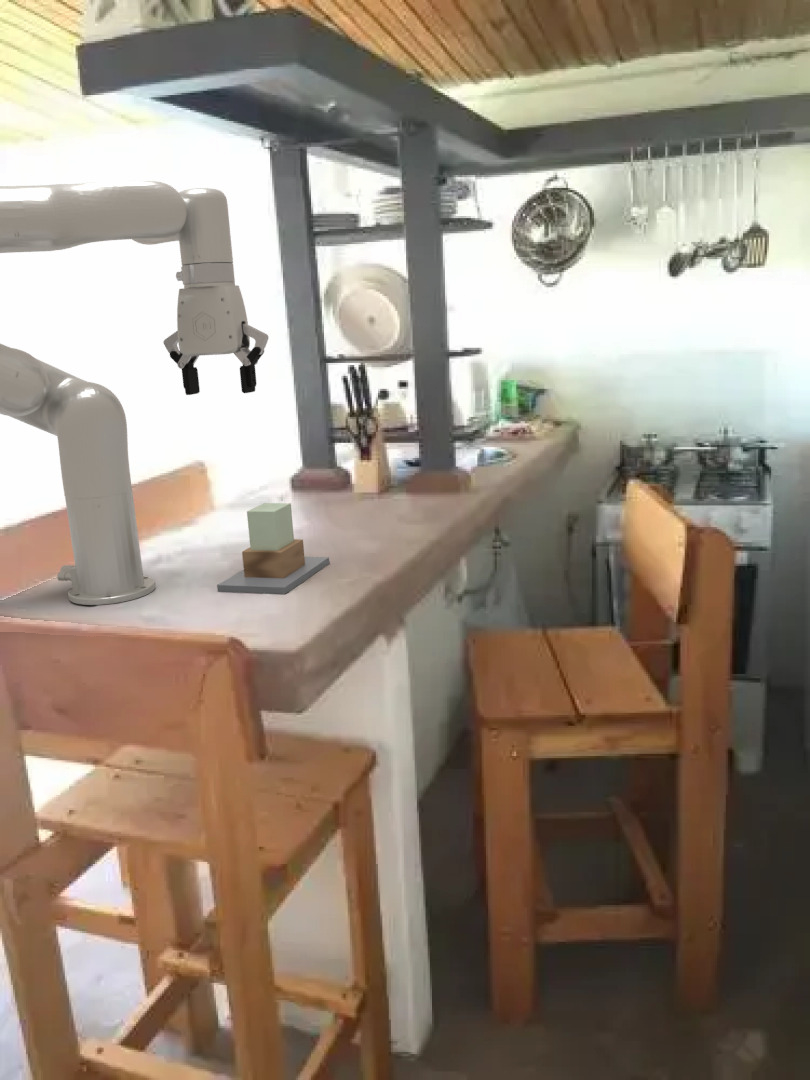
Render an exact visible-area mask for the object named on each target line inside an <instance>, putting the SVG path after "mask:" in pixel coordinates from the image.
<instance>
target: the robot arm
mask: <svg viewBox="0 0 810 1080" xmlns="http://www.w3.org/2000/svg"><path fill="white" fill-rule="evenodd" d="M228 206H229V205H228V198H227V197H226V195H225V193H224V192H223V191H221V190H219V189H215V188H208V187H207V188H205V187H204V188H201V187H200V188H190V189H184V190H182V191H180V192H178V191H177V189H176V188H174V187H173V186H171V185H169V184H167V183H165V182H162V181H155V180H154V181H153V180H152V181H151V180H138V181H137V180H135V181H134V180H131V181H129V180H128V181H101V182H99V181H98V182H85V183H70V184H68V183H64V184H62V183H61V184H60V183H59V184H57V183H56V184H48V185H47V184H46V185H42V184H39V185H19V186H18V185H15V186H14V185H12V186H10V185H9V186H4V185H3V186H0V254H8V253H9V254H11V253H31V252H32V253H33V252H54V251H60V250H61V251H63V250H67V249H71V248H74V247H78V246H82V245H85V244H90V243H91V244H92V243H97V242H107V241H119V240H132V241H134V242H136V243H138V244H142V245H147V246H148V245H152V246H153V245H158V244H164V243H170V242H177V241H178V242H179V252H180V259H181V261H180V262H181V266H180V268H181V270H180V271H177V272H176V274H175V278H176V280H177V281H178V282H182V285H183V288H179V289H178V296H177V308H176V310H177V311H176V313H177V314H176V316H177V318H176V321H177V322H176V323H177V325H176V327H177V330H176V331H175V332H173V333H172V334H171V335H169V336H167V337H166V338H165V339H164V340H163V342H162V343H163V346H164V347H165V349H166V351H167V352H168V354H169V357H170V359H172V360H173V362H175V363H176V365H177V367H178V368H179V369H181V376H182V384H183V385H182V386H183V389H184V391H185V392H184V393H185V395H186V396H190V395H197V394H199V393H200V392H201V391H200V389H201V388H200V379H199V373H198V367H197V366H195V364H196V362H197V360H198V359H199V357H200V356H217V355H230V354H233V355H235V357H236V358H237V359H238V360H239V361H240V362H241V364H242V365H241V366H239V375H240V376H239V377H240V387H241V393H243V394H250V393H254V392H255V391H256V387H257V375H256V365H257V364H258V363H259V360H260V358H262V356H263V355H264V353H265V348H266V346H267V343H268V340H269V334H267V333H265V332H263V331H261V330H259V329H258V328H255V327H253V326H251V325H249V323H248V322H249V321H248V317H247V311H246V306H245V302H244V298H243V294H242V291H241V288H240V286H239V285H236V281H235V280H236V279H235V271H234V269H235V268H234V257H233V248H232V247H233V246H232V240H231V237H232V236H231V227H230V226H231V225H230V218H229V217H230V215H229V207H228ZM250 338H251V339H254V341H255V343H254V346H253V347H252V349H251V350H250V346H251V345H250V344H251V343H250V342H251V341H250ZM0 415H3V416H8V417H10V418H13V419H15V420H17V421H19V422H23V423H25V424H27V425H29V426H32V427H34V428H36V429H39V430H42V431H44V432H46V433H48V434H50V435H54V436H56V438H57V444H58V452H59V461H60V462H59V464H60V465H59V466H60V472H61V473H60V474H61V481H62V487H63V493H64V494H63V495H64V499H65V504H66V513H67V518H68V526H69V533H70V539H71V548H72V554H73V560H74V564H73V565H70V564H69V565H68V564H64V565H62V566H61V567H60V569H59V570H60V571H59V572H58V573H57V576H56V577H57V580H58V581H61V582H62V581H63V582H64V581H67V582H68V581H70V583H71V588H70V589H69V590H68V592H67V595H68V600H69V601H70V602H72V603H74V604H76V605H77V604H78V605H83V606H105V605H112V604H118V603H124V602H130V601H132V600H136V599H139V598H142V597H145V596H147V595H149V594H151V593H152V592H153V591H154V590H155V588H156V583H155V582H156V581H155V580H154V579H153V578H152V577H150V576H148V575H144V572H143V563H142V556H141V548H140V541H139V540H140V539H139V532H138V525H137V516H136V509H135V502H134V501H135V500H134V494H133V493H134V492H133V487H132V486H133V485H132V479H131V477H132V476H131V472H130V471H131V470H130V461H129V447H128V444H129V443H128V424H127V423H128V422H127V417H126V413H125V410H124V407H123V405H122V403H121V401H120V399H119V397H118V396H117V395H116V394H115V393H114V392H113V391H112V390H111V389H109V388H108V387H106V386H104V385H101V384H99V383H95V382H92V381H86V380H84V379H82V378H79V377H77V376H75V375H73V374H71V373H68V372H66V371H64V370H62V369H59V368H58V367H55V366H53V365H51V364H48V363H47V362H44V361H42V360H40V359H38V358H36V357H34V356H33V355H31V354H30V353H28V352H26V351H24V350H21V349H19V348H14V347H10V346H7V345H5V344H2V343H0Z"/></svg>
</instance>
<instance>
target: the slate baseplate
mask: <svg viewBox="0 0 810 1080" xmlns="http://www.w3.org/2000/svg"><path fill="white" fill-rule="evenodd" d="M304 557H305V565H303V566H302V567H300V568H299V569H297V570H296V571H294V572H293V573H291V574H290V575H288V576H286V577H285V578H257V577H245V576H244V569H242V570H240V571H239V572H236V573H235V574H234V575H233V574H232V576H230V577H228V578H226V579H225V580H224V581H221V582H219V584H217V585H216V589H217V592H218V593H219V592H221V593H222V592H223V593H224V592H226V593H248V594H271V595H275V594H276V595H286V594H288V593H289V592H291V591H292V590H293V589H295V588H296V587H298V586H299V585H301V584H302V583H303V582H305V581H306V580H308V579H309V578H310V577H312V576H313V575H315V574H316V573H318V572H319V571H321V570H322V569H323V568H325V567H327V566H328V565H329V564H330V557H329V556H304Z"/></svg>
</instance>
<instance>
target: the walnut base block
mask: <svg viewBox="0 0 810 1080" xmlns="http://www.w3.org/2000/svg"><path fill="white" fill-rule="evenodd" d="M241 554H242V565H243V570H244V576H245V577H257V578H285V577H286V576H288V575H290V574H291V573H293V572H294V571H296V570H297V569H299V568H300V567H302V566H303V565H305V557H306V556H305V548H304V539H298V538H297V539H295V538H294V541H293V542H292V543H290V544H288V545H287V546H285V547H283V548H282V549H280V550H278V551H268V550H251V548H250V547H248V548H246V549H244V550H242V551H241Z"/></svg>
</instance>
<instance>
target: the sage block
mask: <svg viewBox="0 0 810 1080" xmlns="http://www.w3.org/2000/svg"><path fill="white" fill-rule="evenodd" d="M246 516H247V525H248V527H247V528H248V535H249V536H248V537H249V548H251V550H268V551H278V550H280V549H282V548H283V547H285V546H287V545H288V544H290V543H292V542H293V541H294V539H295V537H294V536H295V535H294V525H293V524H294V523H293V514H292V503H289V502H288V503H287V502H285V503H283V502H279V503H278V502H277V503H275V502H273V503H272V502H264V503H261V504H260V505H258V506H255V507H254V508H250V509H249V510H246Z"/></svg>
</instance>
